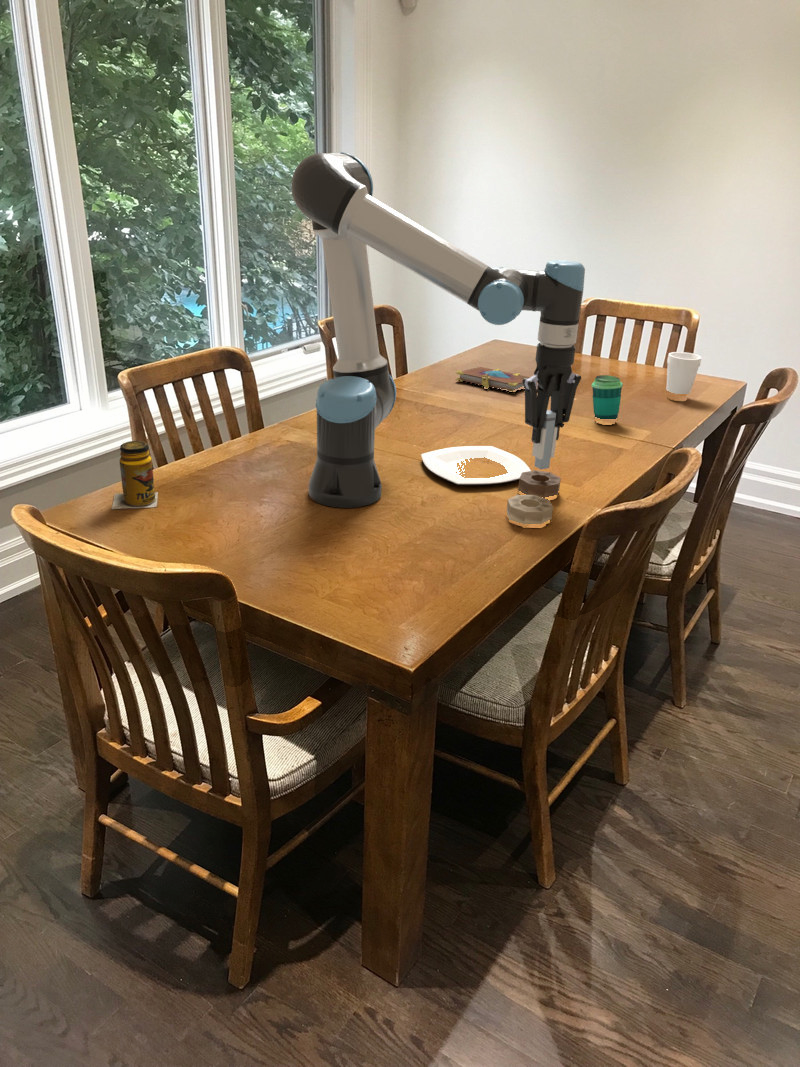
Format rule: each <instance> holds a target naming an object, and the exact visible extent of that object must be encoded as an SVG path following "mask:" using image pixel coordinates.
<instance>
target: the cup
mask: <svg viewBox="0 0 800 1067" xmlns="http://www.w3.org/2000/svg"><path fill="white" fill-rule="evenodd" d="M623 386H624V384H623V382H622V381H621V378H619V377H617V376H613V375H607V374H604V375H603V374H602V375H597V376H595V379H594V381H593V382H592V383H591V388H592V403H593V414H594V415H595V416H594V418H595V417H597V418H600V419H616V418H617V419H618V415H619V412H620V406H621V397H622V390H623V388H622V387H623Z"/></svg>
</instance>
